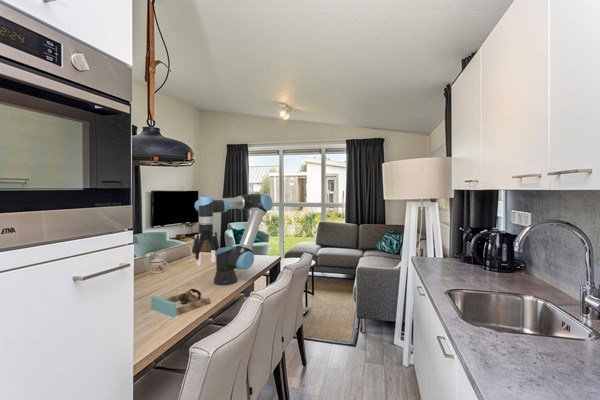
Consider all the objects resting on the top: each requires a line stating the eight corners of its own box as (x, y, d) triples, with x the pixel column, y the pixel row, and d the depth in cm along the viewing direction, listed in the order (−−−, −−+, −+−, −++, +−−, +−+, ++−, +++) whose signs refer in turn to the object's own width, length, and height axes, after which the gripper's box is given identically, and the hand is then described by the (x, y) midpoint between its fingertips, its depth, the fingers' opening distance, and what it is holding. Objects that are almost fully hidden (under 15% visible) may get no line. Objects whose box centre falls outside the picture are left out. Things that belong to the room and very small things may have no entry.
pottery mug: (190, 299, 171) (197, 286, 171) (198, 310, 166) (206, 297, 166) (172, 299, 161) (179, 286, 161) (180, 311, 156) (188, 298, 156)
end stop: (155, 307, 157) (154, 295, 157) (176, 315, 146) (176, 303, 146) (151, 308, 156) (151, 297, 156) (172, 317, 145) (172, 304, 145)
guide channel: (188, 296, 174) (188, 291, 174) (210, 303, 163) (210, 298, 163) (155, 307, 157) (154, 301, 157) (176, 315, 146) (176, 309, 146)
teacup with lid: (150, 274, 223) (149, 258, 223) (151, 271, 231) (151, 256, 231) (167, 272, 227) (167, 257, 227) (168, 270, 235) (168, 255, 235)
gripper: (193, 225, 160) (193, 268, 161) (225, 222, 178) (225, 260, 179) (184, 225, 165) (185, 266, 165) (217, 222, 183) (217, 259, 183)
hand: (206, 263), depth 172 cm, fingers open, 9 cm apart
